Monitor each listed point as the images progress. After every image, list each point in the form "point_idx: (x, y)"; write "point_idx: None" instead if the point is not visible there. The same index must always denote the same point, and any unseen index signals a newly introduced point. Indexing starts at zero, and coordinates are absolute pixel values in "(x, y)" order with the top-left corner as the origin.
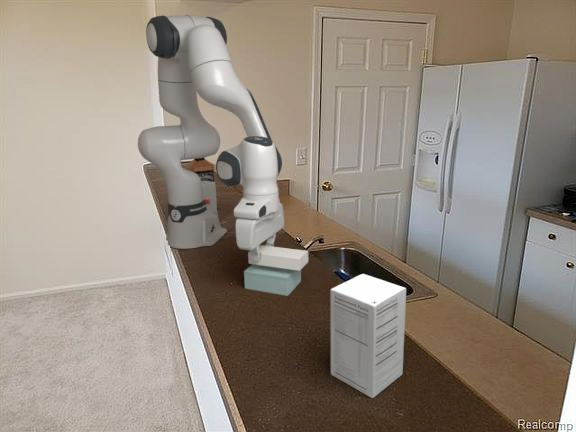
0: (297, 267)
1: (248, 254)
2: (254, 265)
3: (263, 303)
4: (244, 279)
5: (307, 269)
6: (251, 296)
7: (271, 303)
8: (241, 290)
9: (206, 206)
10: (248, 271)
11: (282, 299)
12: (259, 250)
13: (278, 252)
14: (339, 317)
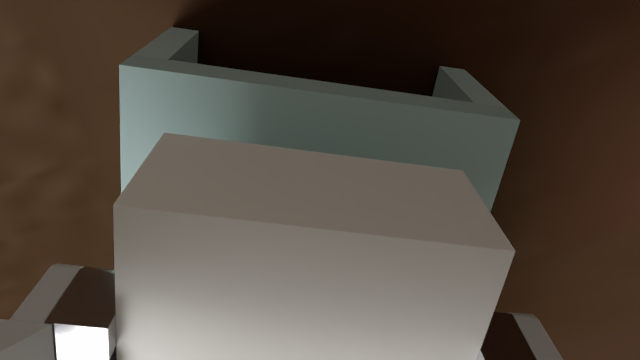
0: None
1: (123, 193)
2: (310, 126)
3: (7, 235)
4: (148, 44)
5: (584, 355)
6: (64, 127)
7: (31, 278)
8: (128, 10)
9: None
10: (130, 118)
11: None
12: (257, 332)
13: None
14: None
